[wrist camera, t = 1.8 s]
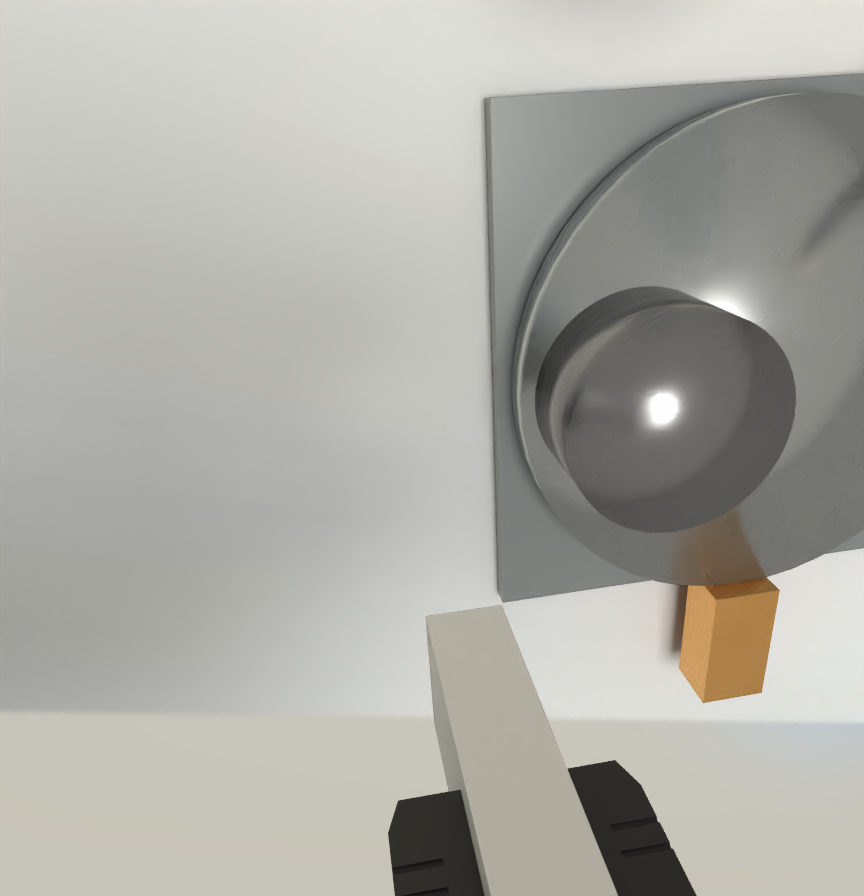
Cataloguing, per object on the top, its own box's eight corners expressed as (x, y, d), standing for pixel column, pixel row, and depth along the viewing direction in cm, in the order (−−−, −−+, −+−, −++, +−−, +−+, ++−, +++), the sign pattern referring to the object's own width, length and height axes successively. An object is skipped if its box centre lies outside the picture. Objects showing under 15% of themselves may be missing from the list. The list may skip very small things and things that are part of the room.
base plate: (498, 592, 33) (502, 602, 33) (485, 98, 25) (490, 97, 24) (900, 532, 36) (912, 540, 35) (1019, 64, 27) (1038, 62, 26)
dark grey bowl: (534, 494, 28) (567, 547, 25) (534, 297, 25) (571, 325, 22) (720, 469, 29) (777, 516, 26) (743, 276, 26) (813, 299, 22)
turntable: (516, 695, 35) (530, 732, 33) (507, 113, 24) (527, 110, 22) (885, 633, 37) (921, 664, 35) (1030, 77, 26) (1094, 72, 24)
